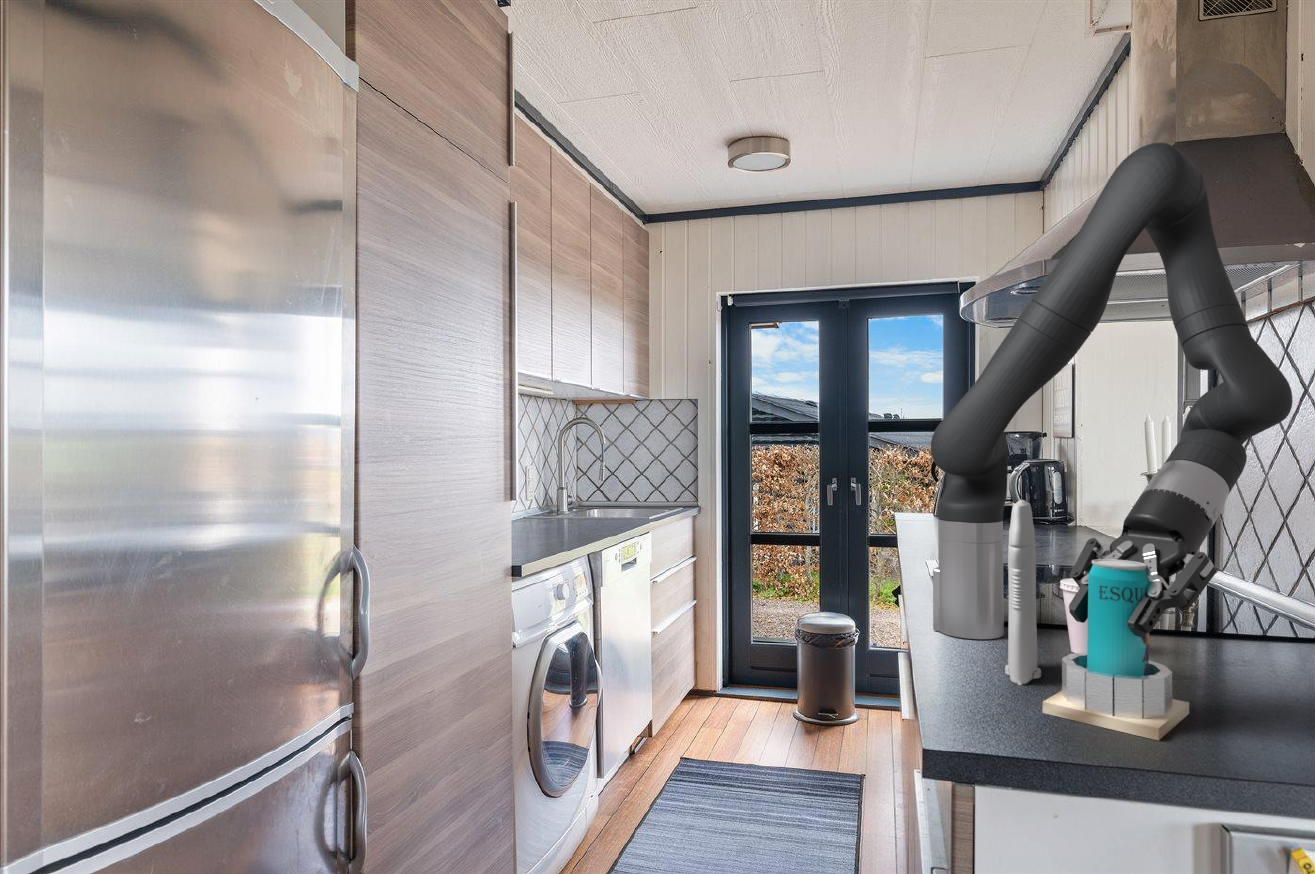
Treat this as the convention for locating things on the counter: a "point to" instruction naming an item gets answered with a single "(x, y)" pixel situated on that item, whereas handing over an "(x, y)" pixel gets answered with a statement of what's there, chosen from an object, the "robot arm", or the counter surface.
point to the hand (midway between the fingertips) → (1104, 623)
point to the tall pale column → (1022, 597)
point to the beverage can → (1116, 618)
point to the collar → (1117, 690)
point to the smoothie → (1075, 629)
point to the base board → (1118, 718)
